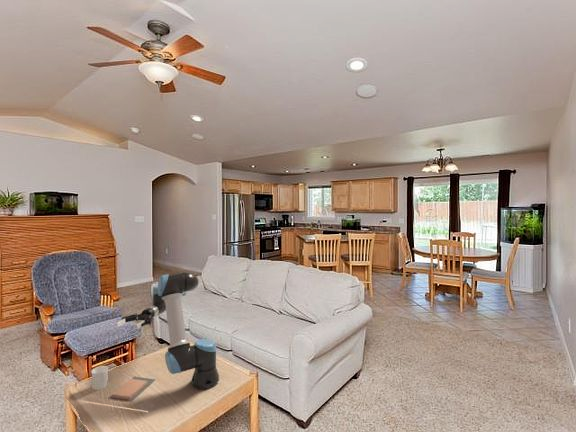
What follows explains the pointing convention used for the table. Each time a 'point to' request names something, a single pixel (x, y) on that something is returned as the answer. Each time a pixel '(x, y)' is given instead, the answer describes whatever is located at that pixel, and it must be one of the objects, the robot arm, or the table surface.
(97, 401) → the table surface
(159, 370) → the table surface
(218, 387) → the table surface
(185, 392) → the table surface
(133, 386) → the tile
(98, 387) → the white cup
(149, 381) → the mat
